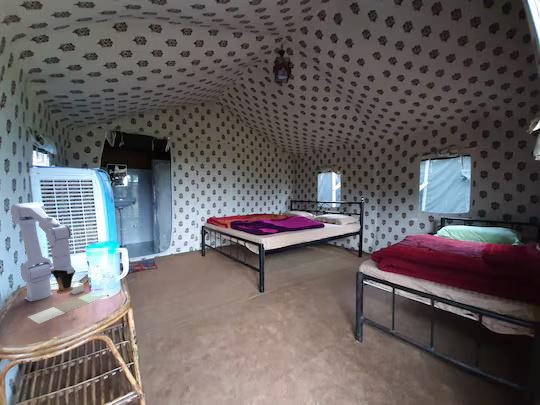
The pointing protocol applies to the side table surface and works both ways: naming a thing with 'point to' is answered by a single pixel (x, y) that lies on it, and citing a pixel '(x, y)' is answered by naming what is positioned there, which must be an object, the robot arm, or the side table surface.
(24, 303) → the side table surface
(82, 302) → the board
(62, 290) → the pawn
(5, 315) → the side table surface
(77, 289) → the die
